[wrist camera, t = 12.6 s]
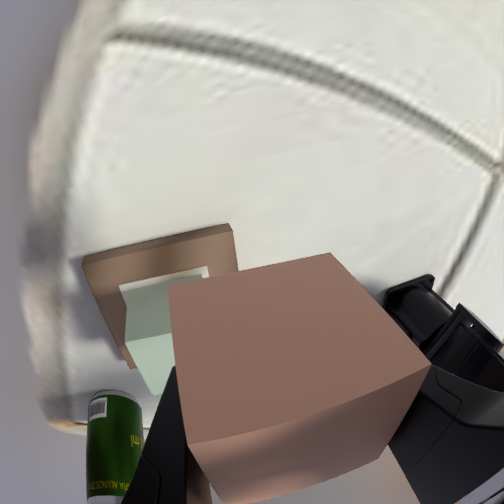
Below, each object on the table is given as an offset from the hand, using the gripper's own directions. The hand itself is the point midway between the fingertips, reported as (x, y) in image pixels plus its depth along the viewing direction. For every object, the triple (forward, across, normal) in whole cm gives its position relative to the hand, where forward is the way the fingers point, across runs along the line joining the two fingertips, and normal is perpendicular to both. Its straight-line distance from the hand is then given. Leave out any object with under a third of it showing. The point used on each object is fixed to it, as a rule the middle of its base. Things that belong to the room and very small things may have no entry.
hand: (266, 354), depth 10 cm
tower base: (+12, +4, +6) cm, 14 cm away
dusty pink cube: (+1, 0, 0) cm, 1 cm away
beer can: (+13, +12, +17) cm, 25 cm away
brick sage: (+11, +4, +6) cm, 13 cm away
